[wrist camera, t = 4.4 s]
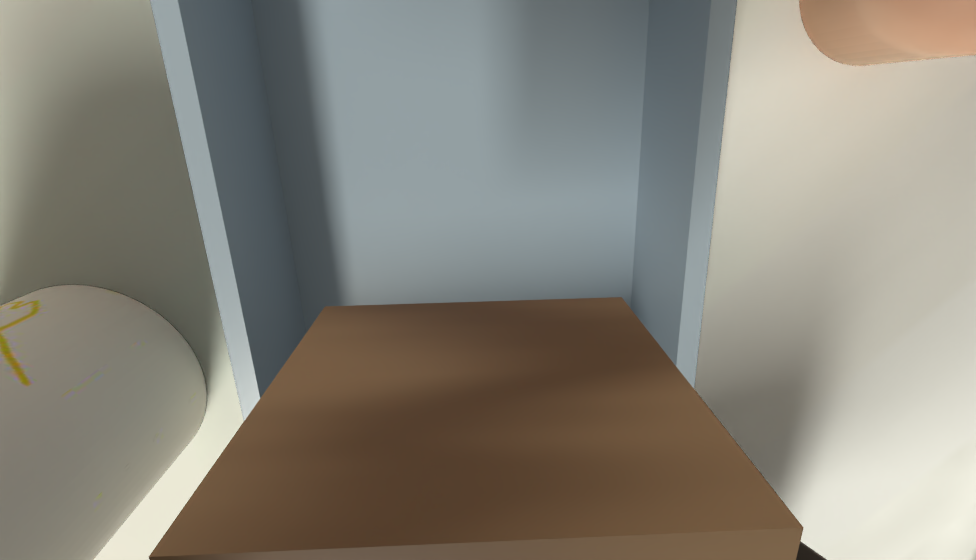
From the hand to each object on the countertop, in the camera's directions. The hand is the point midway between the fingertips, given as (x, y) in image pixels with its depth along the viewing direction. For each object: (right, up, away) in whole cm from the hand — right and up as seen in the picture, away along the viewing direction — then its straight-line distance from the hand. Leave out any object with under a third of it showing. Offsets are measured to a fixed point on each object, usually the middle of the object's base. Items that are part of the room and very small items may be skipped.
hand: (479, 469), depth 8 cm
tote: (-1, +7, +9) cm, 12 cm away
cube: (0, 0, +1) cm, 1 cm away
